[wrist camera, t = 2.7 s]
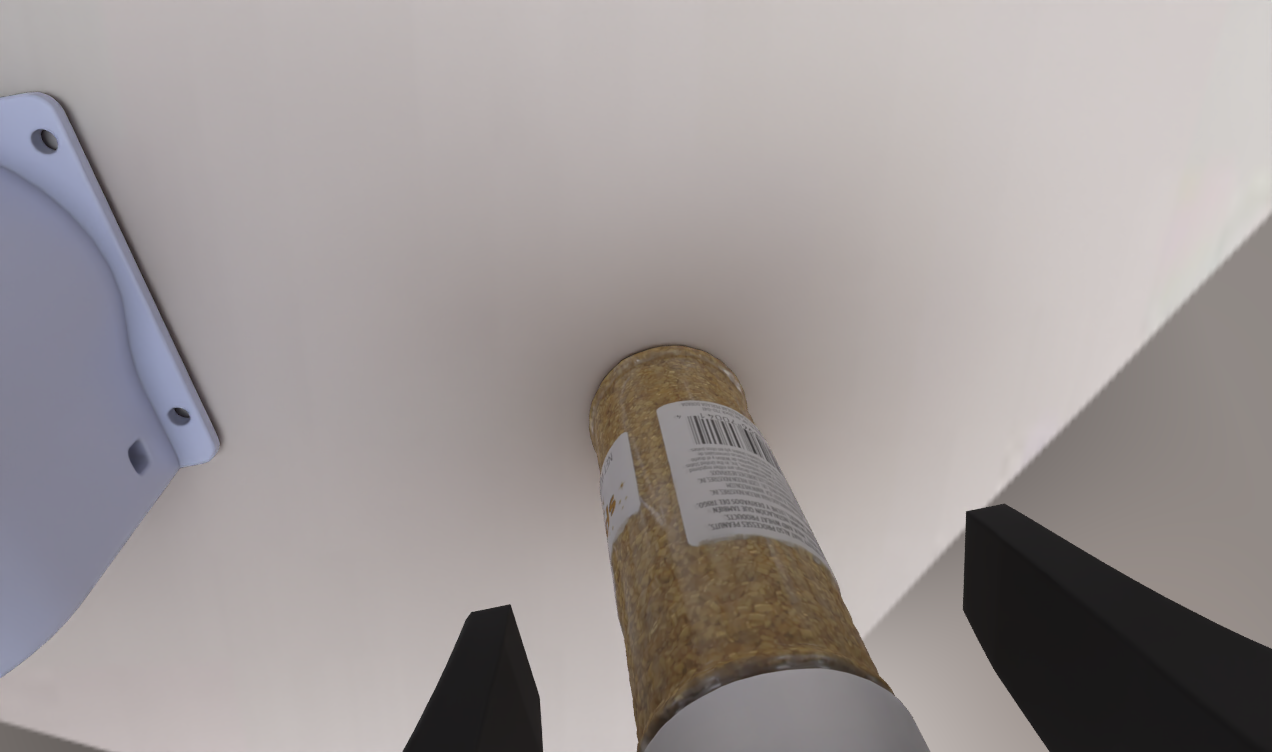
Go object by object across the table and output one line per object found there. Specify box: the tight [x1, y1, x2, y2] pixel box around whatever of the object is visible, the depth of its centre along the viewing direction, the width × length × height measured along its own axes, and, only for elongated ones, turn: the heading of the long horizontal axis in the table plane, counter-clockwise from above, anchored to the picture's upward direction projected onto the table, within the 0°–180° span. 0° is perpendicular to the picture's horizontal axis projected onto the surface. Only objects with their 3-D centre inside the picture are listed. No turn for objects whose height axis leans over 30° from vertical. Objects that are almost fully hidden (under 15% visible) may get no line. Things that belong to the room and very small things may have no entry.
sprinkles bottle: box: [589, 345, 930, 752], centre depth 17 cm, size 5×5×14 cm
